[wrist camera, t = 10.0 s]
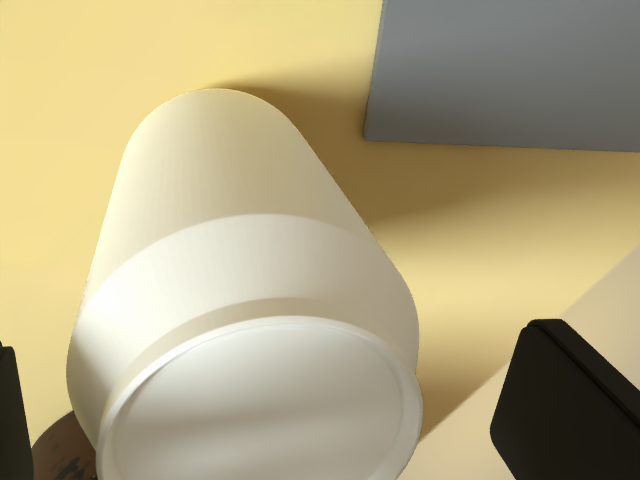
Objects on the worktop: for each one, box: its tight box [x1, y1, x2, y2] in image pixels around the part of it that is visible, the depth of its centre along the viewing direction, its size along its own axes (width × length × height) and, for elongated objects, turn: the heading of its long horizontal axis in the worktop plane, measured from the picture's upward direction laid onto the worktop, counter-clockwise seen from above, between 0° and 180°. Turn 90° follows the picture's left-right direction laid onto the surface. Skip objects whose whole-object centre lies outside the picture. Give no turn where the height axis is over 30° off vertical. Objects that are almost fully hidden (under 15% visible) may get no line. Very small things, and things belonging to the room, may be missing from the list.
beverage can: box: [66, 88, 423, 480], centre depth 13 cm, size 6×6×12 cm
